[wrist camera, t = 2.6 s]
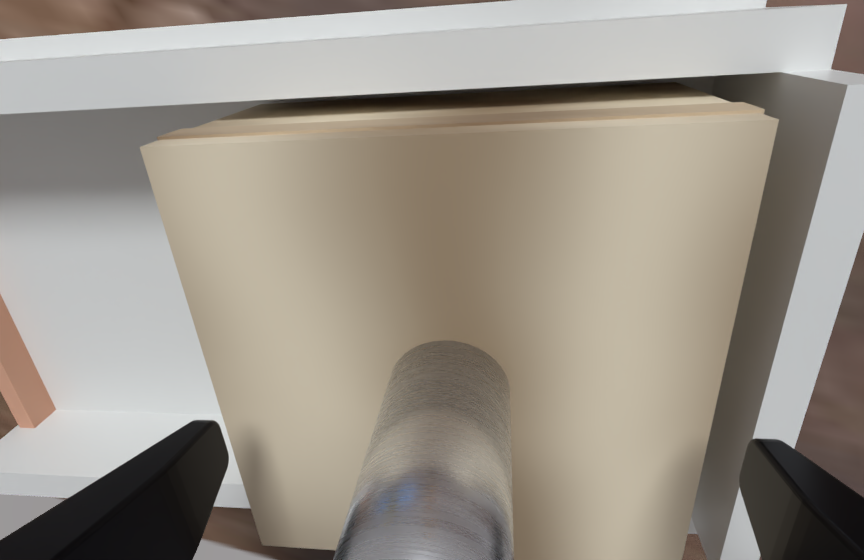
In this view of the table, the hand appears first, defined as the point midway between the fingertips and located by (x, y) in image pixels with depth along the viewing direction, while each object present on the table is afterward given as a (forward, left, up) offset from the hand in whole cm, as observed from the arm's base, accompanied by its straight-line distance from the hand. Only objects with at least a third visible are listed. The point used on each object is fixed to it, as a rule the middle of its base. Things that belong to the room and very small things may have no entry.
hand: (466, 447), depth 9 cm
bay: (-4, +4, -7) cm, 9 cm away
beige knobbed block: (0, 0, -8) cm, 8 cm away
